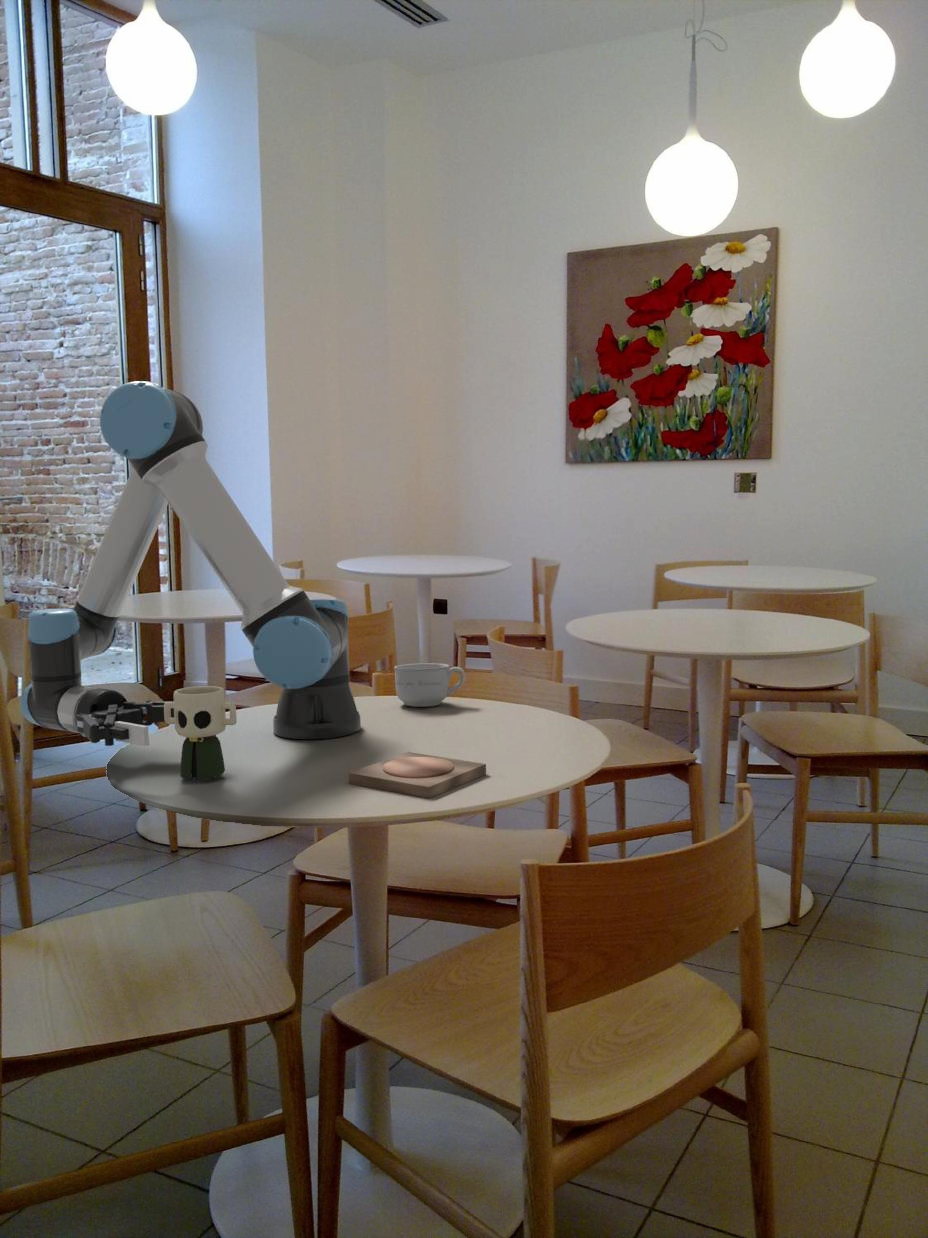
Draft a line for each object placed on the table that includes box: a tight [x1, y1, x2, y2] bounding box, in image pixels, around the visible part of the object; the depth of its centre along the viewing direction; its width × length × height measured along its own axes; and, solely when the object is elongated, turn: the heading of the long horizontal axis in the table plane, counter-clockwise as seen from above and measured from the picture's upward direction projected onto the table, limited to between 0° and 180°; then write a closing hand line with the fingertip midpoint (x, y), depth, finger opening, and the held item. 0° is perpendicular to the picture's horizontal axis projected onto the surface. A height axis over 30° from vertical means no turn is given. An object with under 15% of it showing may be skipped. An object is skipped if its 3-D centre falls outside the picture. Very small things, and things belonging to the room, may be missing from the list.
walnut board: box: [348, 751, 487, 799], centre depth 143 cm, size 14×14×2 cm
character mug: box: [164, 685, 237, 781], centre depth 145 cm, size 11×7×13 cm, turn 82°
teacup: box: [394, 662, 467, 708], centre depth 196 cm, size 14×11×8 cm
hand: (185, 727), depth 146 cm, fingers open, 13 cm apart
